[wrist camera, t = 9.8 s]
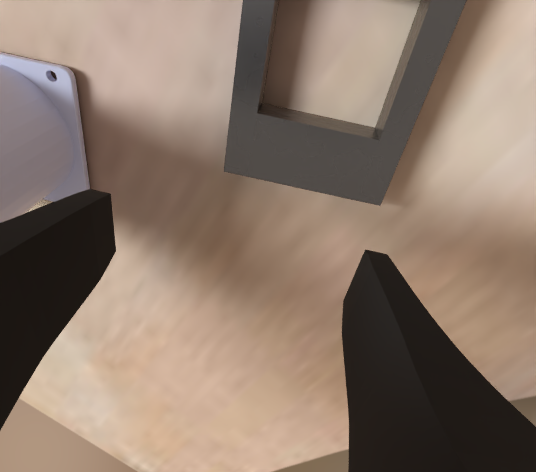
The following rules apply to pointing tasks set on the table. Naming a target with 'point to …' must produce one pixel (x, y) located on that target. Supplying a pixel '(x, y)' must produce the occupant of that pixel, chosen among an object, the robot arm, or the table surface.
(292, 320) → the table surface
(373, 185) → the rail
